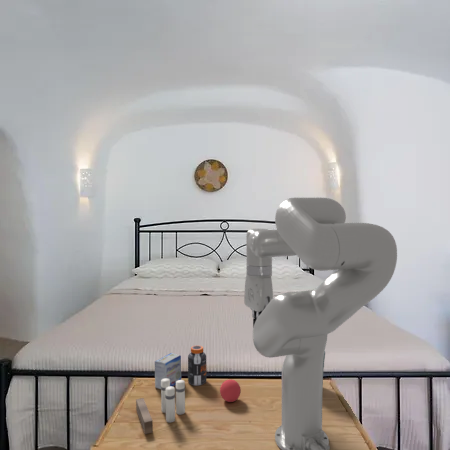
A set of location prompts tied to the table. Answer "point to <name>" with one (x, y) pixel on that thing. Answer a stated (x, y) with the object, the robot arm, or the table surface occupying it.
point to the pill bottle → (197, 366)
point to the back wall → (144, 416)
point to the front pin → (180, 397)
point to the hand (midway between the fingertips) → (259, 331)
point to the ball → (230, 390)
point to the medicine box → (168, 369)
